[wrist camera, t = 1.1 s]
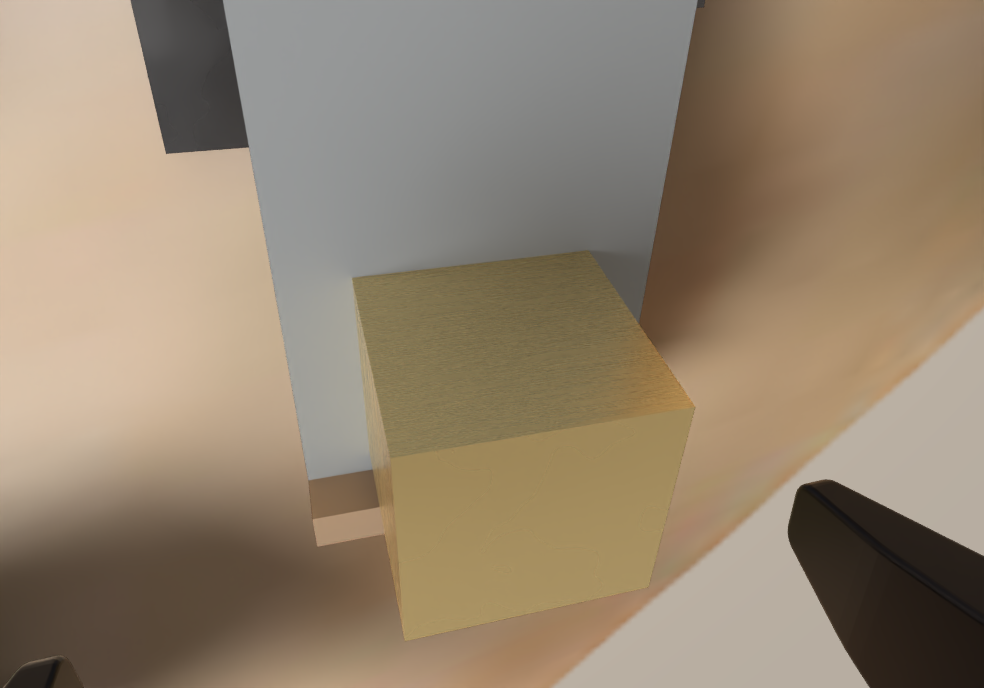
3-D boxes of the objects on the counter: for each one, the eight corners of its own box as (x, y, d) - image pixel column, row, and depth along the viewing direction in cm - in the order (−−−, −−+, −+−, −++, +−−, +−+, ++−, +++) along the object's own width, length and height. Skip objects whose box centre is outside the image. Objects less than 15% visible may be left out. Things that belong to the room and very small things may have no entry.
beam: (599, 423, 22) (632, 486, 20) (309, 472, 20) (317, 546, 18) (839, -1099, 8) (1017, -1347, 6) (-12, -1366, 6) (-113, -1812, 4)
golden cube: (567, 420, 19) (648, 587, 16) (369, 453, 18) (404, 641, 15) (588, 250, 16) (695, 406, 13) (351, 277, 15) (390, 458, 11)
